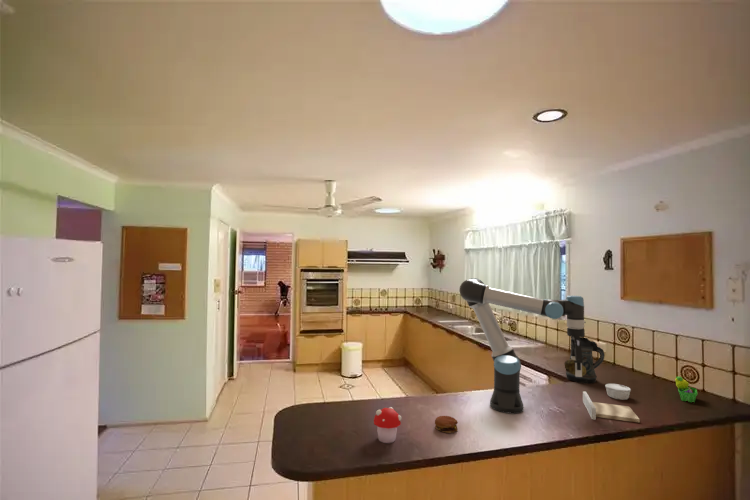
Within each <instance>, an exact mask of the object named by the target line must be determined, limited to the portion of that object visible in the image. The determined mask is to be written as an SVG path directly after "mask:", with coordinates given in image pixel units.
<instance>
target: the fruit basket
mask: <svg viewBox="0 0 750 500" xmlns="http://www.w3.org/2000/svg"><path fill="white" fill-rule="evenodd" d="M674 380H675V386H676V387H677V390H678V393H679V397H680V400H681V402H682V401H683V402H686V401H688V403H692V402H694V403H695V402H696V398H697V396H698V390H697V388H695V387H690V386H689V385H690V383H689V381H687V380H685V379H684V378H683V377H682V376H676V378H675V379H674Z"/></svg>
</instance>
